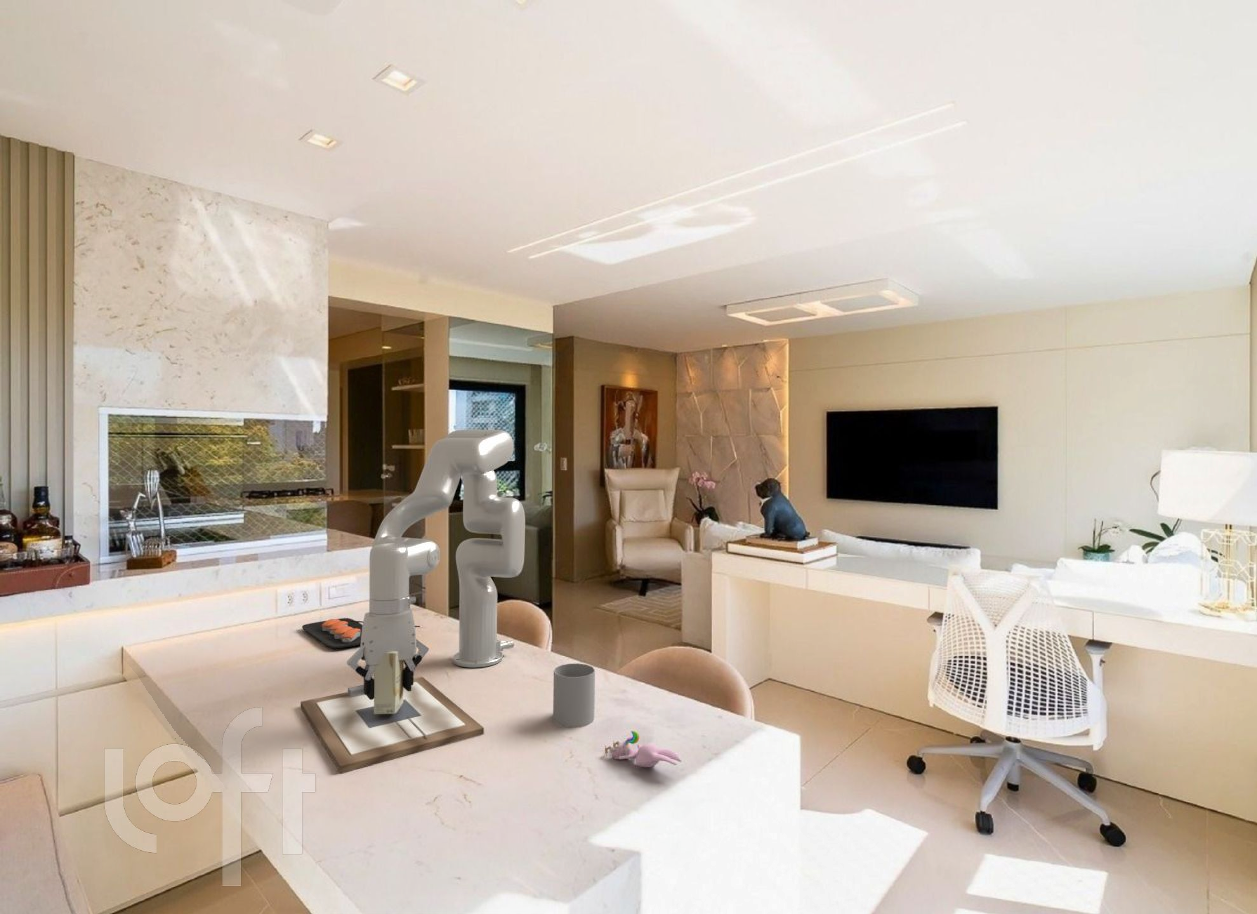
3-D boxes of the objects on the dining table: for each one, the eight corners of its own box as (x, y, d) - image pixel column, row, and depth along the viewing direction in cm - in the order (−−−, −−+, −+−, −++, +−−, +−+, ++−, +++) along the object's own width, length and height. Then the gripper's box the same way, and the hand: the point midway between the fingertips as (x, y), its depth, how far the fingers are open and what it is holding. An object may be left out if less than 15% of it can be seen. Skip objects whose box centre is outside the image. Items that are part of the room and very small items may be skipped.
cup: (600, 714, 135) (600, 666, 135) (585, 730, 127) (585, 679, 127) (563, 708, 138) (564, 661, 138) (546, 723, 130) (546, 674, 130)
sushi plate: (298, 631, 193) (298, 618, 193) (396, 614, 214) (396, 603, 214) (332, 655, 172) (332, 640, 172) (437, 634, 192) (437, 621, 192)
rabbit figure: (599, 767, 115) (670, 780, 107) (596, 733, 116) (665, 743, 107) (621, 754, 120) (689, 765, 112) (617, 721, 121) (685, 730, 112)
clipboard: (422, 681, 152) (422, 669, 152) (483, 734, 125) (483, 719, 125) (300, 707, 136) (300, 694, 136) (340, 773, 109) (340, 757, 109)
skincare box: (395, 714, 128) (395, 653, 128) (373, 715, 128) (373, 653, 127) (404, 701, 134) (404, 643, 134) (382, 702, 134) (382, 643, 134)
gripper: (425, 596, 139) (424, 678, 139) (338, 607, 128) (338, 697, 129) (438, 603, 133) (437, 689, 133) (348, 616, 122) (348, 709, 123)
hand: (388, 692), depth 131 cm, fingers closed on skincare box, 6 cm apart
